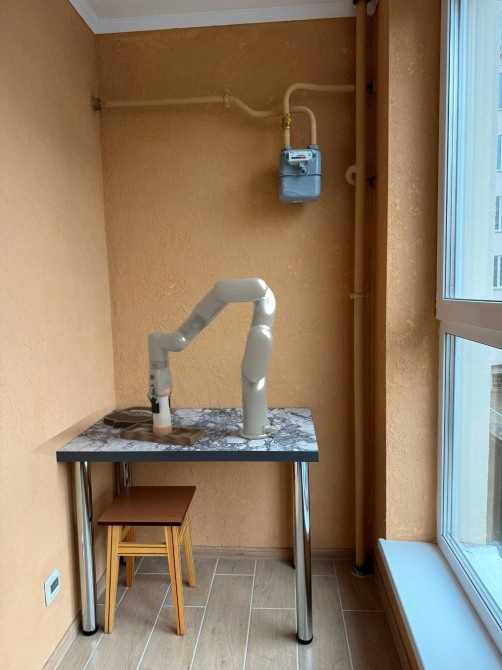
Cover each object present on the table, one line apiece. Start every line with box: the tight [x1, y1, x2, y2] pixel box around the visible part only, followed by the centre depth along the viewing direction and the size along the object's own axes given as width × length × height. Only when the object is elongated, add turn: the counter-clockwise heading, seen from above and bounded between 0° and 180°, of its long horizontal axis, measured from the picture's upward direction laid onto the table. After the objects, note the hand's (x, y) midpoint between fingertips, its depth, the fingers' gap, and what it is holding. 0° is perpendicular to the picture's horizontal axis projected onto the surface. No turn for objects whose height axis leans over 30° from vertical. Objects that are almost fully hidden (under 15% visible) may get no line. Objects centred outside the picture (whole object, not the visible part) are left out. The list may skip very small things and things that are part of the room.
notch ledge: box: [119, 423, 206, 447], centre depth 179 cm, size 31×11×3 cm, turn 68°
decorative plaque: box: [103, 405, 172, 430], centre depth 206 cm, size 30×3×30 cm
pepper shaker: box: [153, 388, 173, 435], centre depth 178 cm, size 7×7×19 cm
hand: (161, 410), depth 178 cm, fingers open, 6 cm apart
